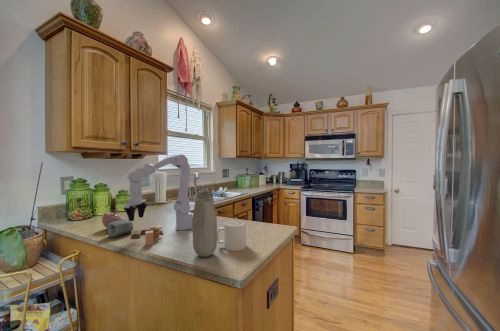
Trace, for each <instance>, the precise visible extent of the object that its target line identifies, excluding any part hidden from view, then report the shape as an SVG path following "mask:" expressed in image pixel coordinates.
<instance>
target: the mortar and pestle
mask: <svg viewBox="0 0 500 331" xmlns="http://www.w3.org/2000/svg"><path fill="white" fill-rule="evenodd" d="M117 213H118V209H115V210H114V212H111V211H110V212H107V211H105V212H104V213H103V215H102V219H101V221H102V222H101V223H102V225H103V226H104V227H105V228H106V227H107V225H108V224H109V223H112V222H115V221H118V220H123V219H126V217H124V216H122V215H118V214H117Z"/></svg>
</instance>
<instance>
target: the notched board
mask: <svg viewBox="0 0 500 331" xmlns="http://www.w3.org/2000/svg"><path fill="white" fill-rule="evenodd" d="M145 231H152V230H150V229H149V228H148V229H147V228H146V229H139V230H132V232H131V238H132V239H135V238H141V236H142V235H145ZM163 233H164V232H163V227H162V228H161V229H159V234H160V235H161V236H163Z"/></svg>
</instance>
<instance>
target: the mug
mask: <svg viewBox="0 0 500 331" xmlns="http://www.w3.org/2000/svg"><path fill="white" fill-rule="evenodd" d="M220 231H223V240H222V239H220V236H219V233H220ZM217 244H223V245H224V249H225V250H227V251H233V252H235V251H242V250H244V249H245V247H246V248H247V223H246V222H244V221H241V220H232V221H227V222H224V223H223V227H222V226H220V227H218V228H217Z"/></svg>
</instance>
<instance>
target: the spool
mask: <svg viewBox="0 0 500 331" xmlns="http://www.w3.org/2000/svg"><path fill="white" fill-rule="evenodd" d="M105 228H106V234H107V236H108V237H109V238H116V237H119V236H122V235H126V234H130V233H133V231H134V224H133V221H129V218H128V219H127V218H125V219H123V220H118V221H115V222H112V223H109V224H108V225H107V227H105Z"/></svg>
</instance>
